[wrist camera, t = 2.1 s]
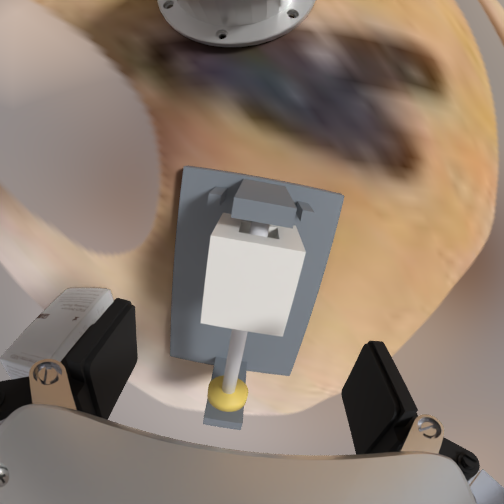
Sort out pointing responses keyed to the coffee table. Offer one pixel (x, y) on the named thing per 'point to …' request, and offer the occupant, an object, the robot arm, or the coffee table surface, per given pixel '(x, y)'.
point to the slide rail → (194, 272)
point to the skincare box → (56, 329)
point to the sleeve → (251, 277)
